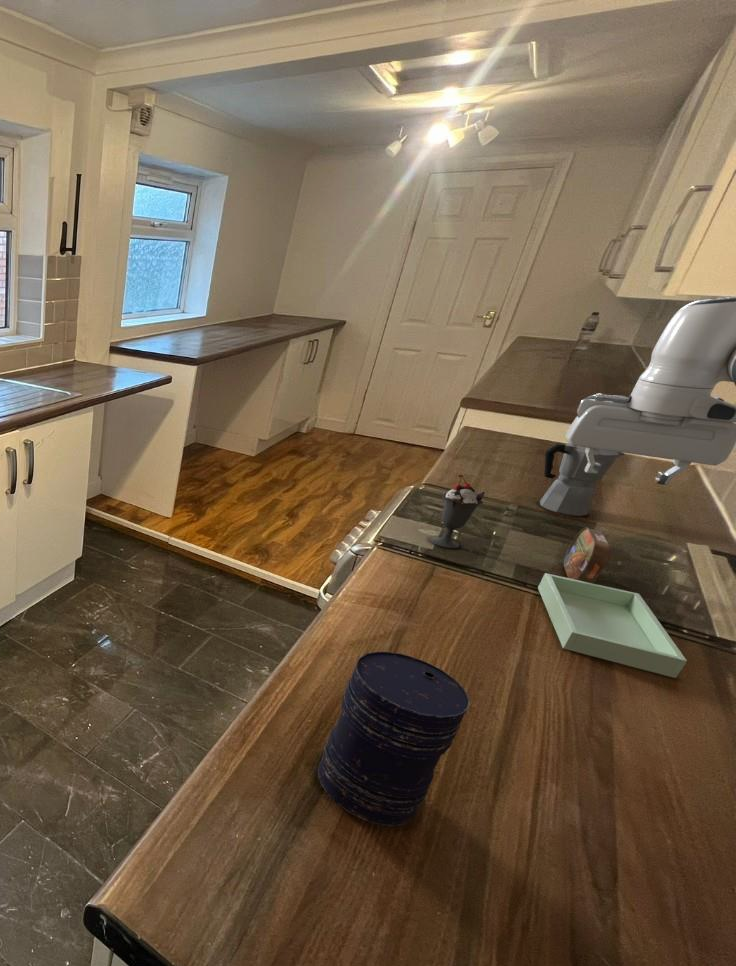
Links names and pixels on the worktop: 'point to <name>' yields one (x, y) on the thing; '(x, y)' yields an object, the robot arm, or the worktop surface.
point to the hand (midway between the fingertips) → (624, 478)
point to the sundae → (457, 511)
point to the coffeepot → (574, 479)
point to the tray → (609, 625)
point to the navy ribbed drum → (390, 736)
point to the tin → (587, 556)
